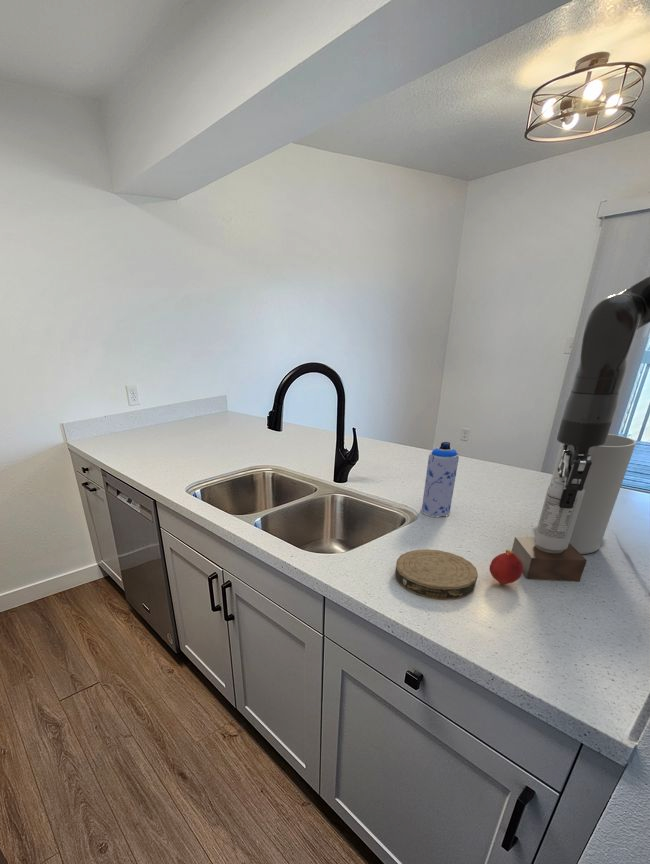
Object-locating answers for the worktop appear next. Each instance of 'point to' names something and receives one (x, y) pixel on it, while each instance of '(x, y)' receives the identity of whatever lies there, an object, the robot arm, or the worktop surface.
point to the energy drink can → (556, 519)
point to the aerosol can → (440, 481)
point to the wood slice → (436, 574)
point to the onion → (506, 568)
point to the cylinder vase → (599, 490)
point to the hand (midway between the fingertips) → (562, 501)
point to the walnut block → (548, 561)
